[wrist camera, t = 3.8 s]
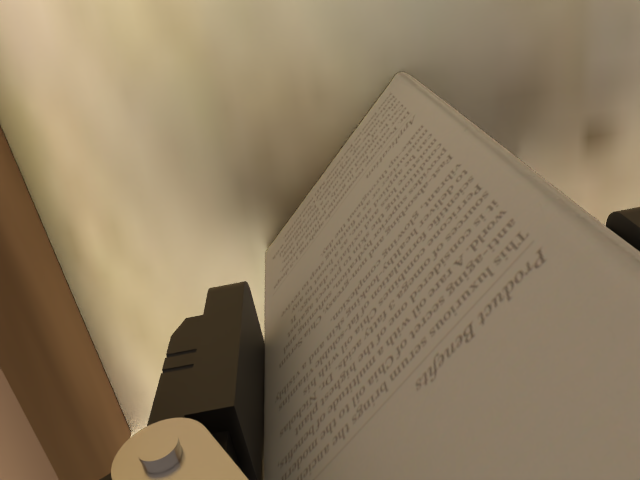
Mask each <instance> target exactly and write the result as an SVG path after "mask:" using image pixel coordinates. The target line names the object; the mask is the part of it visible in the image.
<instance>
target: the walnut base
mask: <svg viewBox="0 0 640 480" xmlns="http://www.w3.org/2000/svg"><path fill="white" fill-rule="evenodd" d="M130 436H131V432H130V430H129V427H128V425H127V423H126V420H125V418H124V416H123V413H122V411H121V409H120V406H119V404H118V402H117V399H116V397H115V394H114V392H113V390H112V387H111V385H110V383H109V380H108V378H107V376H106V373H105V371H104V369H103V366H102V364H101V362H100V359H99V357H98V355H97V352H96V350H95V347H94V345H93V343H92V340H91V338H90V336H89V333H88V331H87V329H86V326H85V324H84V322H83V319H82V317H81V315H80V312H79V310H78V308H77V305H76V303H75V300H74V298H73V296H72V293H71V291H70V289H69V286H68V284H67V282H66V279H65V277H64V275H63V272H62V270H61V268H60V265H59V263H58V261H57V258H56V256H55V253H54V251H53V249H52V246H51V244H50V242H49V239H48V237H47V235H46V232H45V230H44V228H43V225H42V223H41V221H40V218H39V216H38V214H37V211H36V209H35V206H34V204H33V202H32V199H31V197H30V195H29V192H28V190H27V188H26V185H25V183H24V181H23V178H22V176H21V174H20V171H19V169H18V167H17V164H16V162H15V159H14V157H13V155H12V152H11V150H10V148H9V145H8V143H7V141H6V138H5V136H4V134H3V131H2V129H1V127H0V480H99V479H101V478H103V477H105V476H106V475H108V474H110V473H111V467H112V463H113V460H114V458H115V456H116V454H117V453H118V451H119V450H120V448H121V447H122V446H123V444H124V443H125V442H126V441H127V440H128V439H129V438H130Z"/></svg>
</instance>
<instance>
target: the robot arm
mask: <svg viewBox="0 0 640 480" xmlns="http://www.w3.org/2000/svg"><path fill="white" fill-rule="evenodd" d="M606 227H607V228H609V229H610V230H611V231H613V232H614V233H615V234H617V235H618V236H619V237H621V238H622V239H623V240H625V241H626V242H627V243H629V244H630V245H631V246H633V247H634V248H635V249H637V250H638V251H639V252H640V207H637V208H632V209H627V210H621V211H616V212H612V213H611V214H610V215H609V216H608V219H607V222H606ZM166 355H167V358H165V361H164V365H163V369H162V371H163V373H162V374H161V376H160V380H159V383H158V387H157V391H156V395H155V398H154V402H153V406H152V410H151V413H150V417H149V421H148V424H147V427H145V428H143V429H142V430H140V431H139V432H137V433H136V434H134V435H133V436H132V437H131V438H129V439H128V440H127V441H126V442H125V443H124V444H123V446H122V447H121V448H120V450H119V451H118V453H117V454H116V456H115V458H114V460H113V463H112V467H111V473H110V474H108V475H106V476H105V477H103V478H101V479H99V480H263V478H264V376H265V343H264V339H263V336H262V332H261V328H260V324H259V321H258V317H257V313H256V309H255V306H254V302H253V298H252V294H251V291H250V288H249V285H248V283H247V282H246V281H245V282H240V283H234V284H229V285H224V286H219V287H213V288H209V290H208V293H207V298H206V304H205V309H204V314H203V315H201V316H195V317H190V318H186V319H185V320H184V321H183V323H182V324H181V325H180V326H179V327H178V329H177V330H176V331H175V332H174V333H173V335H172V336H171V339H170V342H169V346H168V350H167V354H166Z"/></svg>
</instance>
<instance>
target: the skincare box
mask: <svg viewBox="0 0 640 480" xmlns="http://www.w3.org/2000/svg"><path fill="white" fill-rule="evenodd" d="M263 480H640V252H639V251H638V250H637V249H635V248H634V247H633V246H631V245H630V244H629V243H627V242H626V241H625V240H623V239H622V238H621V237H619V236H618V235H617V234H615V233H614V232H613V231H611V230H610V229H609V228H607V227H606V226H605V225H603V224H602V223H601V222H599V221H598V220H597V219H595V218H594V217H593V216H592V215H590V214H589V213H588V212H586V211H585V210H584V209H582V208H581V207H580V206H579V205H577V204H576V203H575V202H573V201H572V200H571V199H569V198H568V197H567V196H566V195H564V194H563V193H562V192H560V191H559V190H558V189H557V188H555V187H554V186H553V185H551V184H550V183H549V182H547V181H546V180H545V179H544V178H542V177H541V176H540V175H539V174H537V173H536V172H535V171H533V170H532V169H531V168H530V167H528V166H527V165H526V164H525V163H523V162H522V161H521V160H520V159H518V158H517V157H516V156H515V155H513V154H512V153H511V152H510V151H508V150H507V149H506V148H505V147H503V146H502V145H501V144H499V143H498V142H497V141H496V140H494V139H493V138H492V137H490V136H489V135H488V134H487V133H485V132H484V131H483V130H481V129H480V128H479V127H478V126H476V125H475V124H474V123H472V122H471V121H470V120H469V119H467V118H466V117H465V116H463V115H462V114H461V113H460V112H458V111H457V110H456V109H454V108H453V107H452V106H451V105H449V104H448V103H447V102H445V101H444V100H443V99H441V98H440V97H439V96H437V95H436V94H435V93H433V92H432V91H431V90H429V89H428V88H427V87H426V86H424V85H423V84H422V83H420V82H419V81H418V80H416V79H415V78H414V77H412V76H411V75H409V74H407V73H405V72H399V73H397V74H396V75H395V76H394V78H393V79H392V81H391V82H390V83H389V85H388V86H387V88H386V89H385V91H384V92H383V93H382V95H381V96H380V97H379V98H378V100H377V101H376V103H375V104H374V105H373V107H372V108H371V109H370V111H369V112H368V113H367V115H366V116H365V117H364V119H363V120H362V121H361V123H360V124H359V125H358V127H357V128H356V129H355V131H354V132H353V133H352V135H351V136H350V138H349V139H348V140H347V142H346V143H345V144H344V146H343V147H342V149H341V150H340V151H339V153H338V154H337V155H336V157H335V158H334V159H333V160H332V162H331V163H330V165H329V166H328V167H327V169H326V170H325V172H324V173H323V174H322V176H321V177H320V179H319V180H318V181H317V183H316V184H315V185H314V187H313V188H312V189H311V191H310V192H309V193H308V195H307V196H306V197H305V199H304V200H303V202H302V203H301V204H300V206H299V207H298V209H297V210H296V211H295V213H294V214H293V215H292V217H291V218H290V219H289V221H288V222H287V223H286V225H285V226H284V227H283V229H282V230H281V231H280V233H279V234H278V236H277V237H276V238H275V240H274V241H273V242H272V244H271V245H270V246H269V247H268V249H267V251H266V253H265V376H264V478H263Z"/></svg>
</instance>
